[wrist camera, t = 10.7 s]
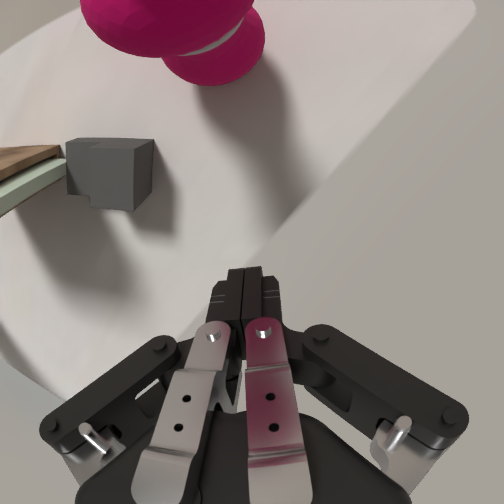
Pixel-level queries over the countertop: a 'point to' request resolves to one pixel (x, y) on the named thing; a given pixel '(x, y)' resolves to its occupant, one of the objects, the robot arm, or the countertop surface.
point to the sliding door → (29, 182)
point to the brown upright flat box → (25, 160)
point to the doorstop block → (110, 171)
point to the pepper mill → (183, 34)
